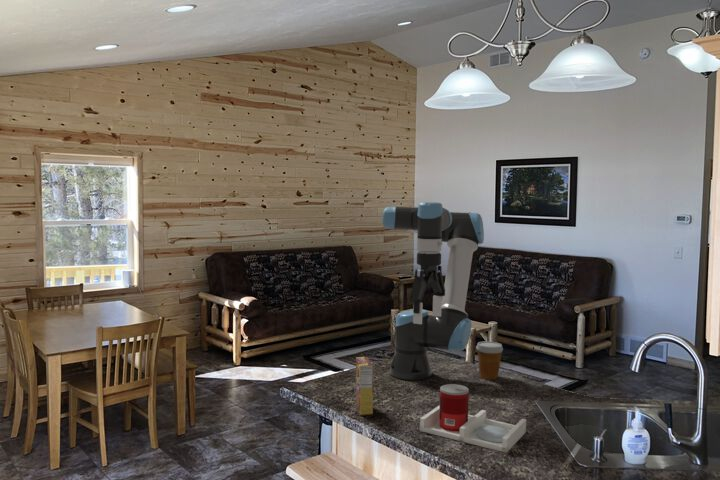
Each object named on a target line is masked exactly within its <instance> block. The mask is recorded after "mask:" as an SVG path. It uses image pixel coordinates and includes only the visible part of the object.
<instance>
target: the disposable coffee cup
mask: <svg viewBox="0 0 720 480" xmlns="http://www.w3.org/2000/svg"><path fill="white" fill-rule="evenodd" d="M475 348H476V350H477V357H478V358H477V359H478V371H479V377H480V378H482V379H484V380H497V379H498V376H499V369H500V365H501V359H502V353H503V350H504V348H503V345H502V343H499V342H496V341H485V340H484V341H479V342H477V345H476V346H475Z"/></svg>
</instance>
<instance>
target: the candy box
mask: <svg viewBox="0 0 720 480" xmlns="http://www.w3.org/2000/svg"><path fill="white" fill-rule="evenodd" d="M373 367H374V365H373V364H372V362H371V359H370V358H369V357H368V356H359V357H358V356H357V357H355V388H356V389H355V390H356V391H355V393H356V395H355V397H356V398H355V399H356V400H355V401H356V402H355V403H356V407H357V409H358V412H359V413H358V414H359V415H361V416H362V415H363V416H364V415H366V416H367V415H368V416H369V415H373V413H374V411H373V410H374V407H373V406H374V402H373V401H374V398H373V397H374V391H373V390H374V389H373V387H374V370H373V369H374V368H373Z"/></svg>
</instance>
